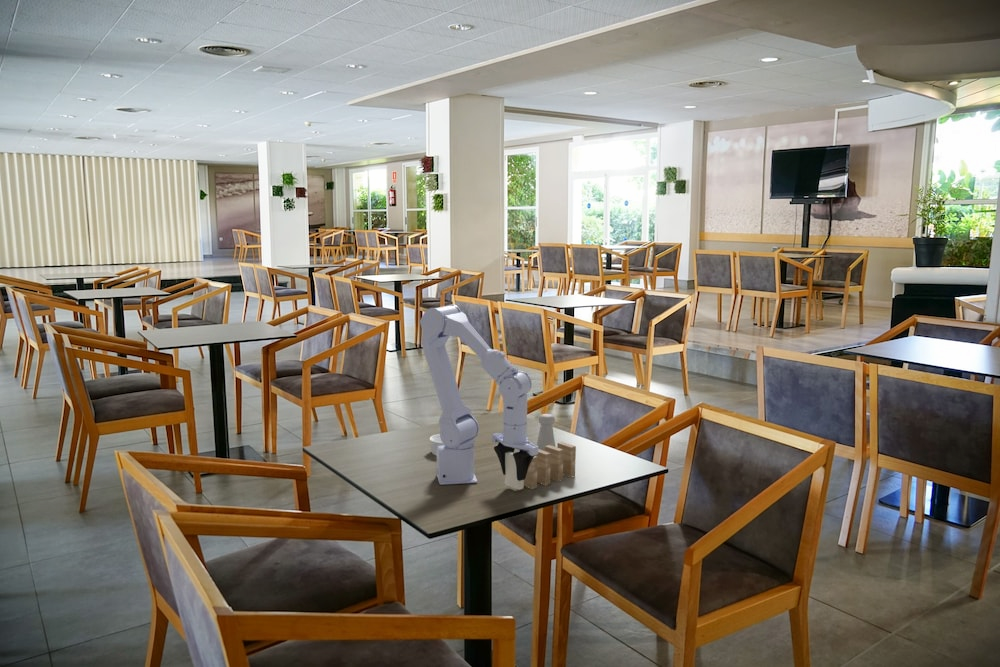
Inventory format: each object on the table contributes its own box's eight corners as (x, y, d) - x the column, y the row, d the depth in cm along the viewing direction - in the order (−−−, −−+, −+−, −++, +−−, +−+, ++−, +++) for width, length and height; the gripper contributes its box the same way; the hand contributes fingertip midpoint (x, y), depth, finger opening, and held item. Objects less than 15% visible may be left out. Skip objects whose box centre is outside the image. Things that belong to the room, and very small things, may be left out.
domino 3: (558, 481, 194) (558, 450, 193) (544, 476, 198) (545, 446, 197) (562, 480, 195) (563, 449, 194) (548, 474, 199) (549, 445, 198)
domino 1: (532, 489, 188) (532, 458, 187) (518, 484, 192) (518, 453, 191) (536, 488, 189) (537, 456, 188) (523, 482, 193) (523, 451, 192)
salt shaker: (538, 465, 206) (539, 418, 204) (532, 458, 212) (533, 412, 209) (559, 463, 208) (560, 416, 206) (552, 457, 213) (553, 411, 211)
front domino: (518, 489, 185) (519, 457, 184) (504, 484, 189) (505, 452, 188) (523, 488, 186) (523, 456, 185) (509, 482, 190) (510, 451, 189)
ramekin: (460, 458, 212) (460, 442, 211) (427, 457, 212) (427, 442, 211) (462, 448, 221) (462, 433, 220) (431, 447, 221) (431, 433, 220)
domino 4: (570, 477, 197) (571, 447, 196) (556, 472, 201) (557, 442, 199) (575, 476, 198) (575, 446, 197) (561, 471, 202) (561, 441, 200)
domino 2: (545, 485, 191) (546, 454, 190) (531, 480, 195) (532, 449, 194) (549, 484, 192) (550, 453, 191) (536, 478, 196) (536, 448, 195)
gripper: (548, 426, 182) (546, 481, 184) (507, 413, 193) (506, 465, 195) (526, 431, 178) (525, 487, 180) (485, 418, 188) (485, 471, 191)
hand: (514, 476), depth 187 cm, fingers closed on front domino, 5 cm apart
